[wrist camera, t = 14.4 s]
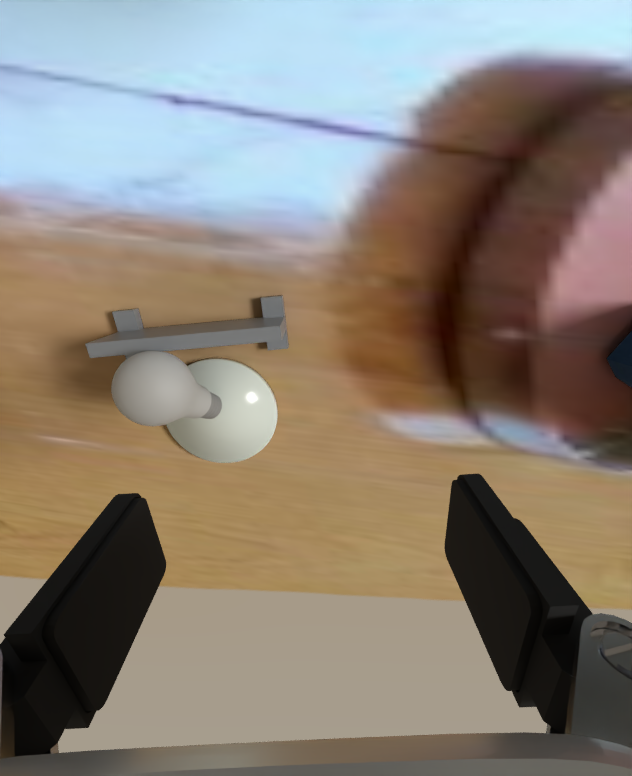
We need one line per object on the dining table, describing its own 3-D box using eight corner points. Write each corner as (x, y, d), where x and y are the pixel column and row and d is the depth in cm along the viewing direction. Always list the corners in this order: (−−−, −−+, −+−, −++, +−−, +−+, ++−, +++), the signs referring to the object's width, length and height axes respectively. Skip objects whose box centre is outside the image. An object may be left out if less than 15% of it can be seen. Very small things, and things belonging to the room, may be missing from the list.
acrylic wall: (117, 310, 32) (77, 320, 27) (282, 295, 32) (277, 302, 26) (132, 360, 34) (97, 379, 28) (288, 346, 34) (284, 362, 28)
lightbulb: (189, 439, 34) (84, 420, 25) (196, 382, 36) (100, 344, 26) (239, 437, 32) (147, 416, 22) (244, 377, 34) (160, 333, 24)
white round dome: (153, 363, 34) (149, 365, 33) (269, 352, 34) (268, 354, 33) (180, 463, 38) (177, 467, 38) (284, 454, 38) (283, 458, 37)
